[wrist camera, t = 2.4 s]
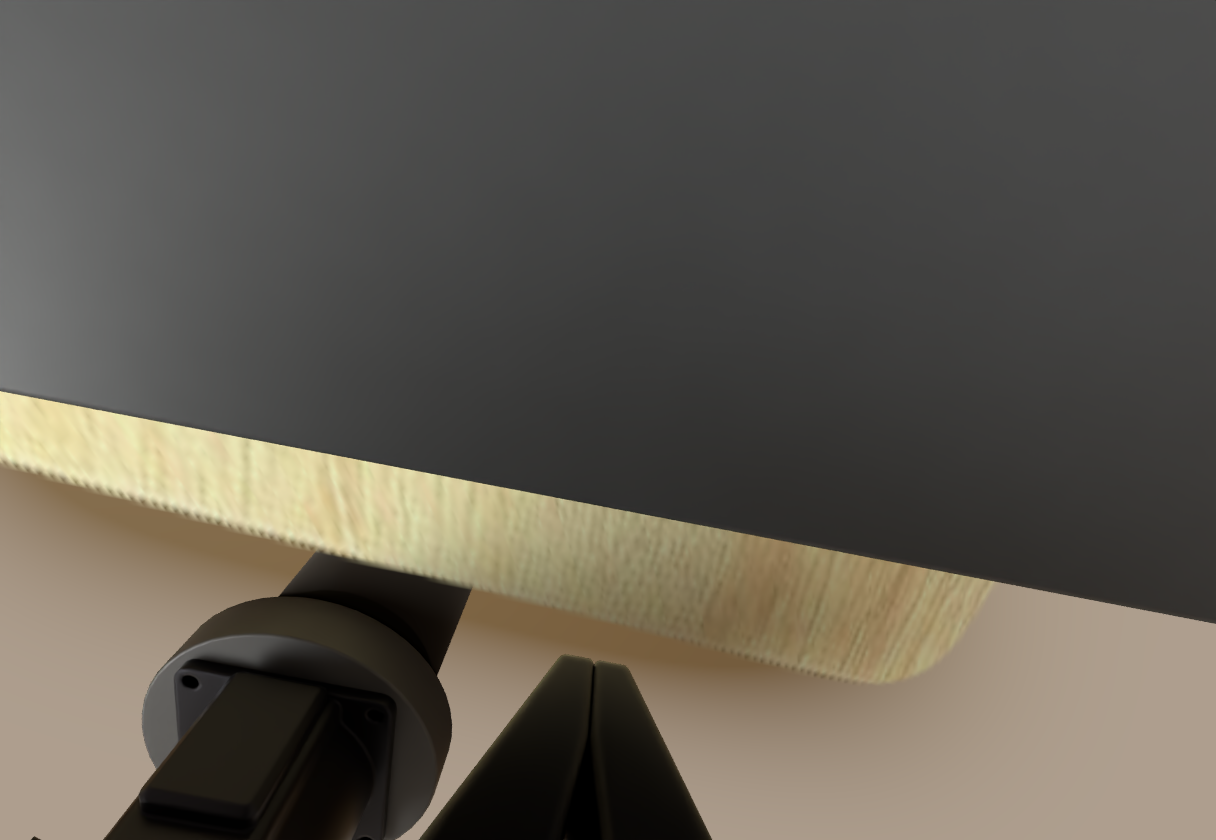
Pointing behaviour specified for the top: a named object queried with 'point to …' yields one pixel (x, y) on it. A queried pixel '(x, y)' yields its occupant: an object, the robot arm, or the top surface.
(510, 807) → the robot arm
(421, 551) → the top surface
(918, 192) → the basket
